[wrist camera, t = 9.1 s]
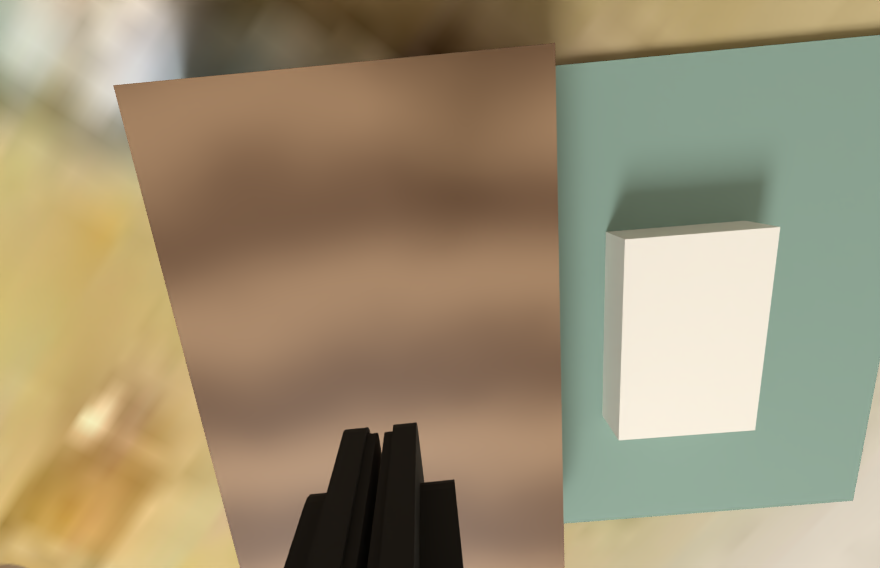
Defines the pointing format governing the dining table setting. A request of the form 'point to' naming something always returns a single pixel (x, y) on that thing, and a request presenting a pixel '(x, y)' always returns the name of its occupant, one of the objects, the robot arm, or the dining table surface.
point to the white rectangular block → (686, 327)
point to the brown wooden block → (367, 281)
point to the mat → (715, 201)
